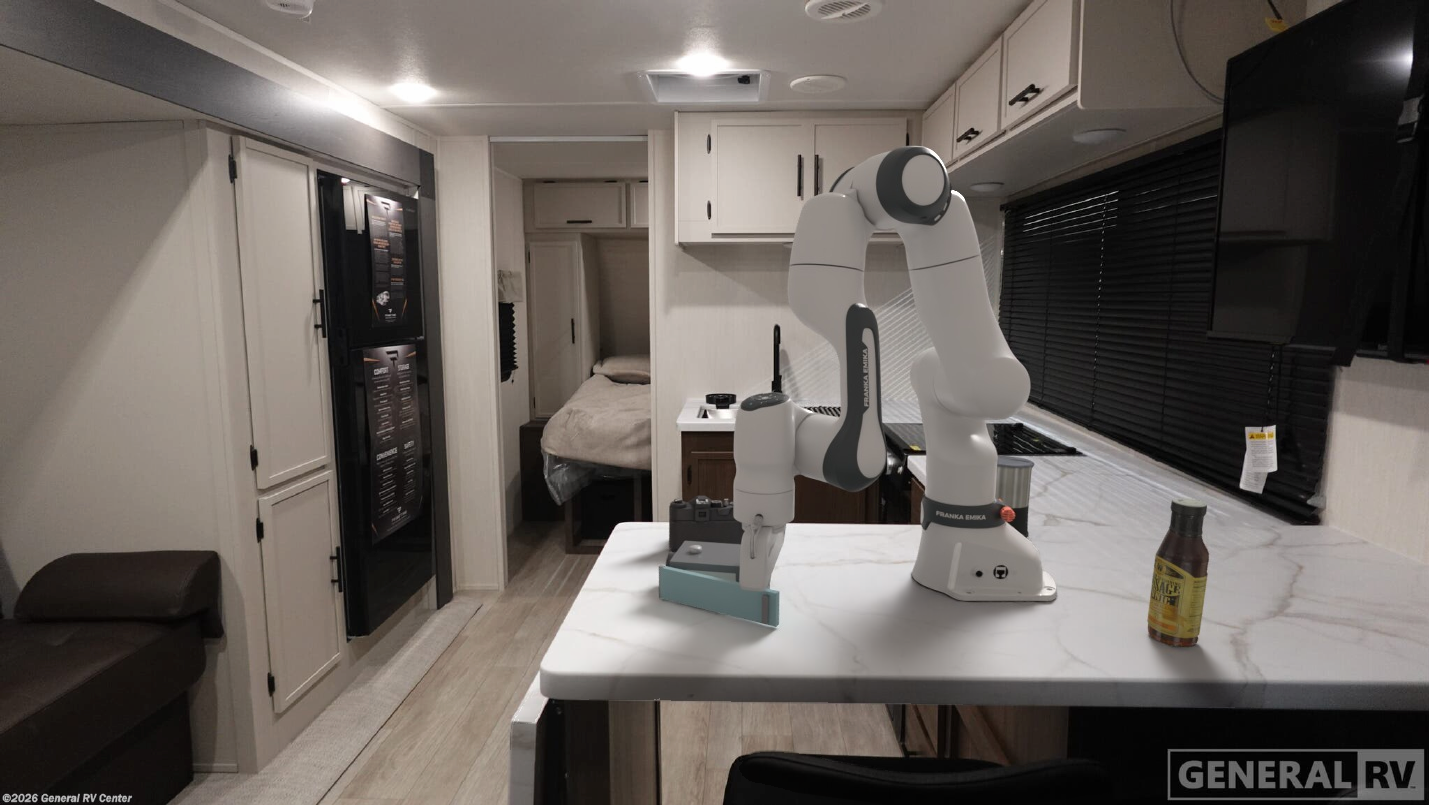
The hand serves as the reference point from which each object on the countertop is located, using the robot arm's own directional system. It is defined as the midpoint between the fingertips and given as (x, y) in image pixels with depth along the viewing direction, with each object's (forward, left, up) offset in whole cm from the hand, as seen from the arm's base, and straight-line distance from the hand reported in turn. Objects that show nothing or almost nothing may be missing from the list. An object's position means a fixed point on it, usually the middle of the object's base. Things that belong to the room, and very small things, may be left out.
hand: (762, 596), depth 110 cm
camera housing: (+9, -9, -3) cm, 13 cm away
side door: (+7, 0, -3) cm, 8 cm away
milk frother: (-40, -46, -4) cm, 61 cm away
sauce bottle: (-57, -4, -3) cm, 57 cm away
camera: (+15, -30, -4) cm, 34 cm away
